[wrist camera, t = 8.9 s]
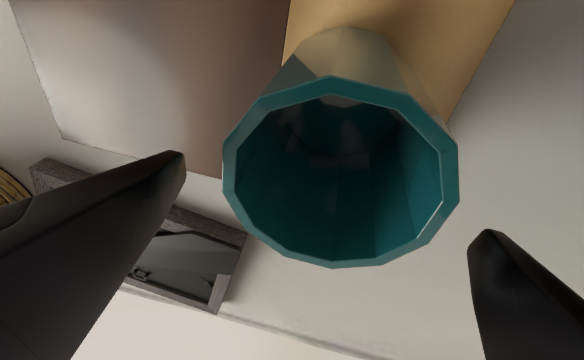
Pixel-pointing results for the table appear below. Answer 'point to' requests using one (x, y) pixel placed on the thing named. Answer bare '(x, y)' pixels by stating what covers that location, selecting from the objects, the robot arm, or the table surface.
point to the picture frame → (171, 249)
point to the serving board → (221, 61)
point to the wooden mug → (10, 190)
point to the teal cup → (342, 156)
